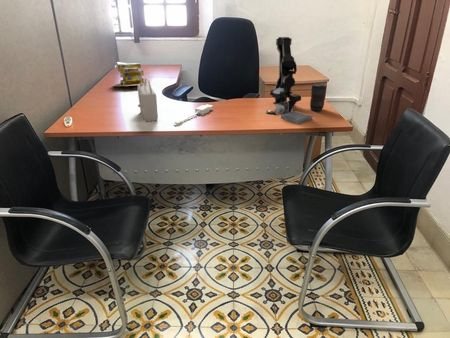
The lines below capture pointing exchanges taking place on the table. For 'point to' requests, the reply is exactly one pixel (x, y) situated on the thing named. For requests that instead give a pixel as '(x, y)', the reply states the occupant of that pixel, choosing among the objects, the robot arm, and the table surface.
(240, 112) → the table surface
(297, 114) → the stand
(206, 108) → the white brush
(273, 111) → the loose bolt
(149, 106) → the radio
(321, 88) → the camera lens
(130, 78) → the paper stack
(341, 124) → the table surface
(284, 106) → the box
